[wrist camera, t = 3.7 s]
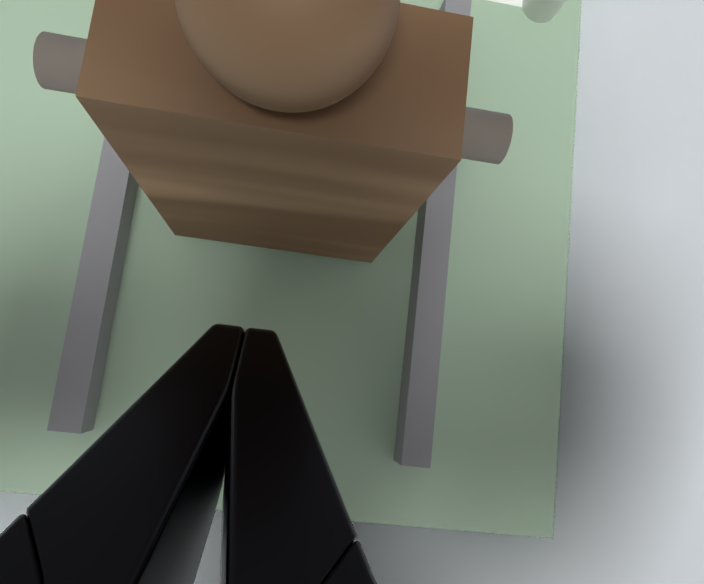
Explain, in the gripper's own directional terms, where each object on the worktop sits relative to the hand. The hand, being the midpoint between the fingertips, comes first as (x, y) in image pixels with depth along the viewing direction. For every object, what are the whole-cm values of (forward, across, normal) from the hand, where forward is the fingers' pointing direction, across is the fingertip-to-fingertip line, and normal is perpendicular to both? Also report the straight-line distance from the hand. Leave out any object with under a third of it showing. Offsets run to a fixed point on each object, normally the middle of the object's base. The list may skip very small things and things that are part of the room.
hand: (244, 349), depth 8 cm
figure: (+9, 0, +2) cm, 9 cm away
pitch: (+12, 0, +1) cm, 12 cm away
